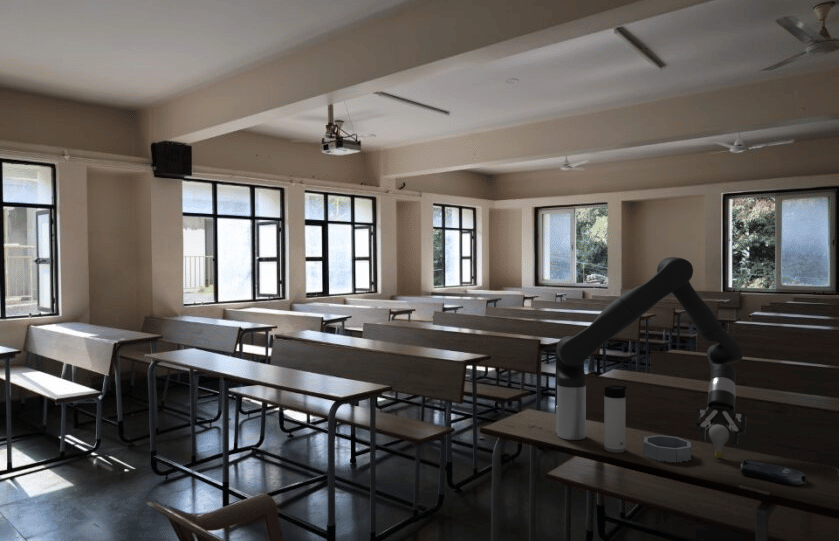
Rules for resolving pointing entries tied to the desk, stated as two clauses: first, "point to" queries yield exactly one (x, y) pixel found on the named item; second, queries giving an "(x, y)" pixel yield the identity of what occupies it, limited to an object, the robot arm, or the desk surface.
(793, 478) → the electronic device
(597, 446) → the desk surface
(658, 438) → the bowl
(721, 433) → the light bulb
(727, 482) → the desk surface
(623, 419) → the travel mug
